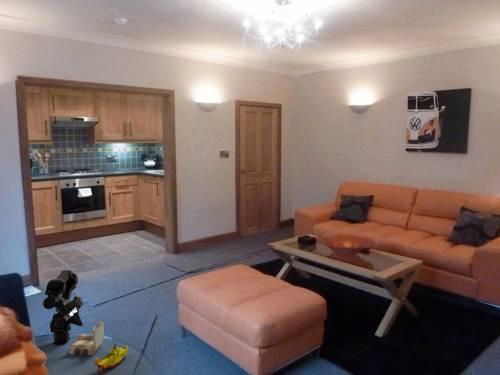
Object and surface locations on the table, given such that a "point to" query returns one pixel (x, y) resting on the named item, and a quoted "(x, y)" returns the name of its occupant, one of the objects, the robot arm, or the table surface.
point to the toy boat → (112, 357)
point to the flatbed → (83, 345)
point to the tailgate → (98, 334)
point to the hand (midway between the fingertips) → (81, 325)
